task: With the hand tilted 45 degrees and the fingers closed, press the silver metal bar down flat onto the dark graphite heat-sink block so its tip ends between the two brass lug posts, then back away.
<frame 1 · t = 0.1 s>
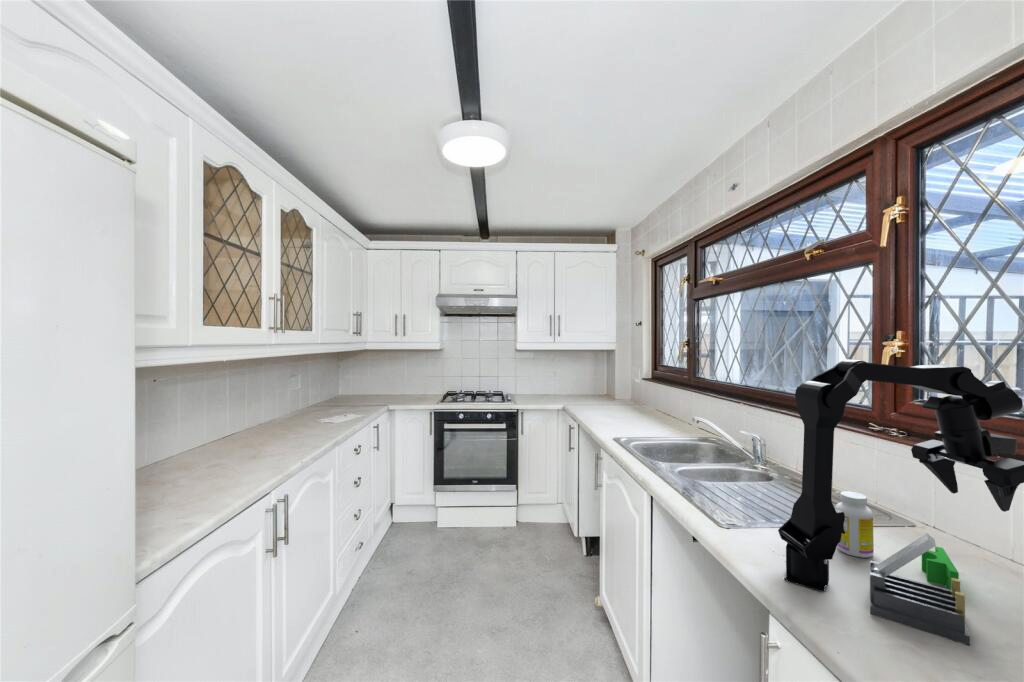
hand: (978, 501, 85), 15 cm above the worktop, tool pointing down, fingers open, 9 cm apart
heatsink: (915, 613, 74), on the worktop
silver metal bar: (901, 558, 75), point 9 cm above the worktop, hinge at 50.0°
supplement bottle: (854, 552, 96), on the worktop
pipe clamp: (937, 579, 85), on the worktop
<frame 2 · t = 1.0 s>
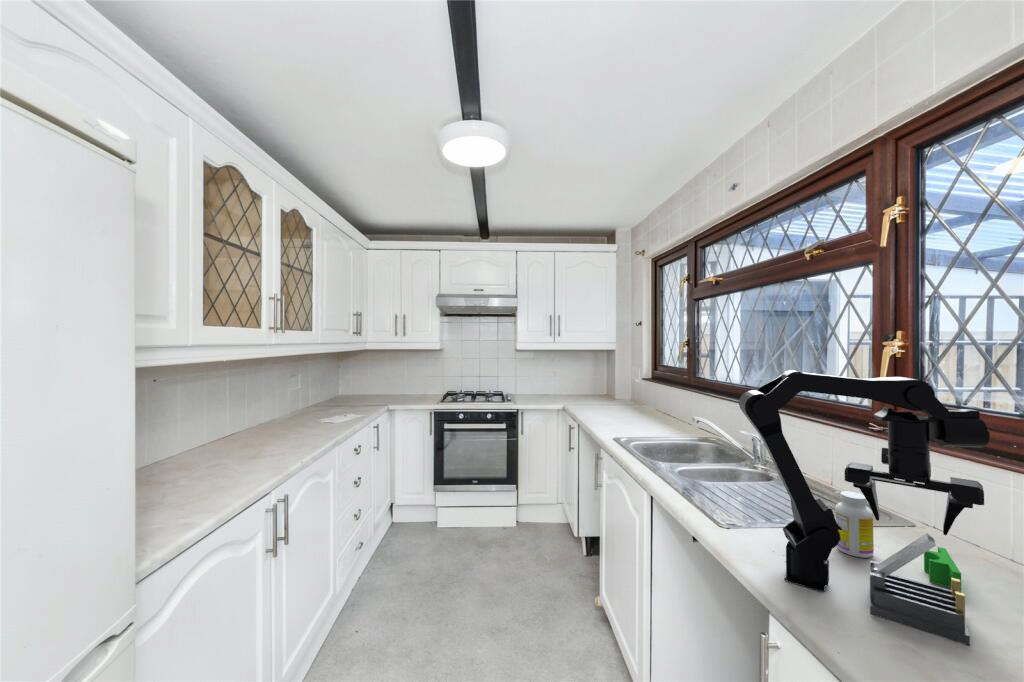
hand: (910, 526, 80), 13 cm above the worktop, tool pointing down, fingers open, 9 cm apart
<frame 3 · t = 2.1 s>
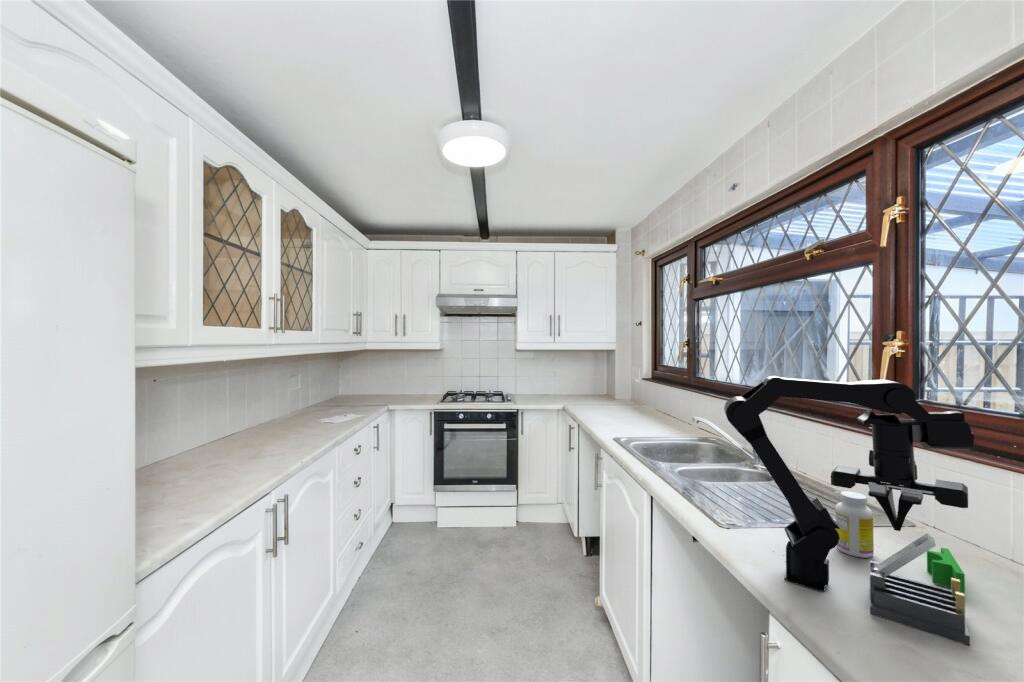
hand: (897, 530, 80), 12 cm above the worktop, tool pointing down, fingers closed
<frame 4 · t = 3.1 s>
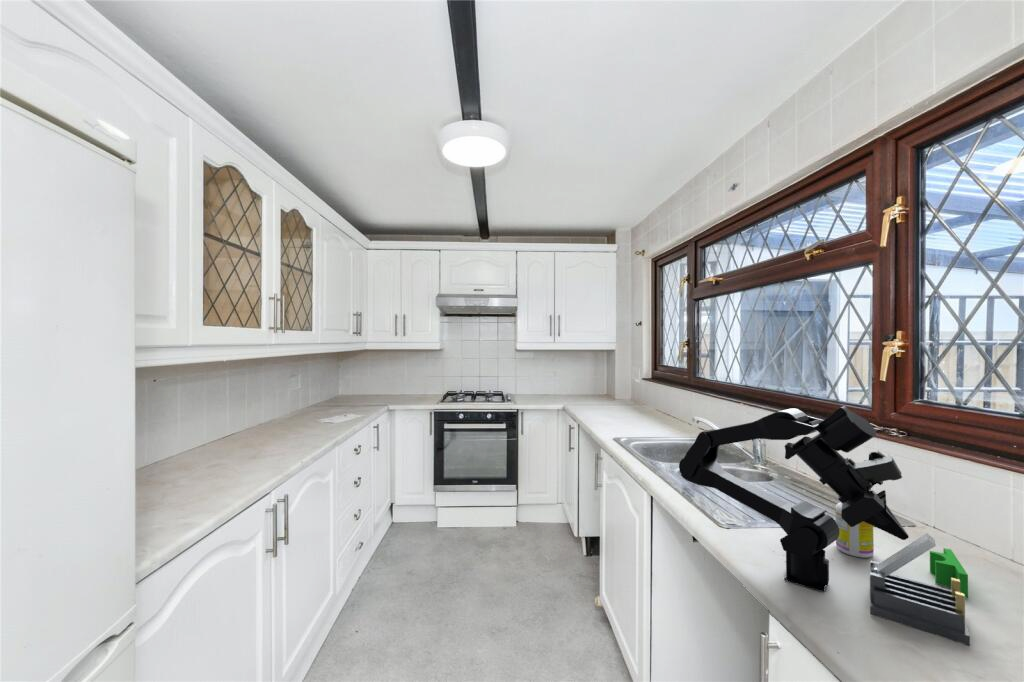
hand: (906, 538, 75), 13 cm above the worktop, tool tilted 45°, fingers closed
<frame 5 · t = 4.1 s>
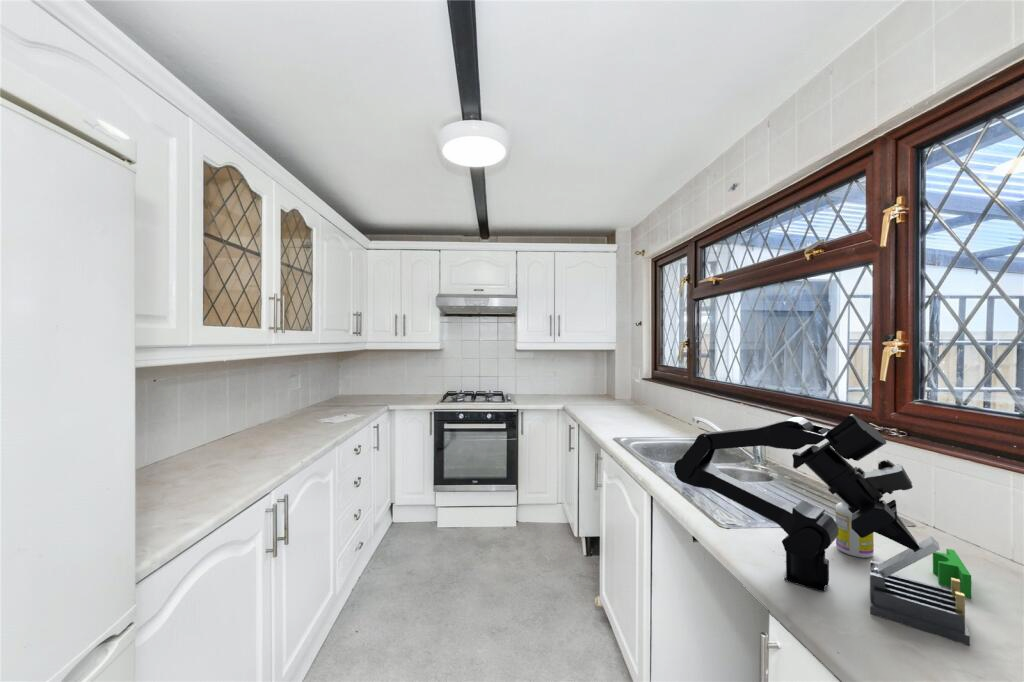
hand: (917, 548, 74), 12 cm above the worktop, tool tilted 45°, fingers closed, pressing on silver metal bar
silver metal bar: (903, 559, 75), point 9 cm above the worktop, hinge at 46.4°, touching gripper
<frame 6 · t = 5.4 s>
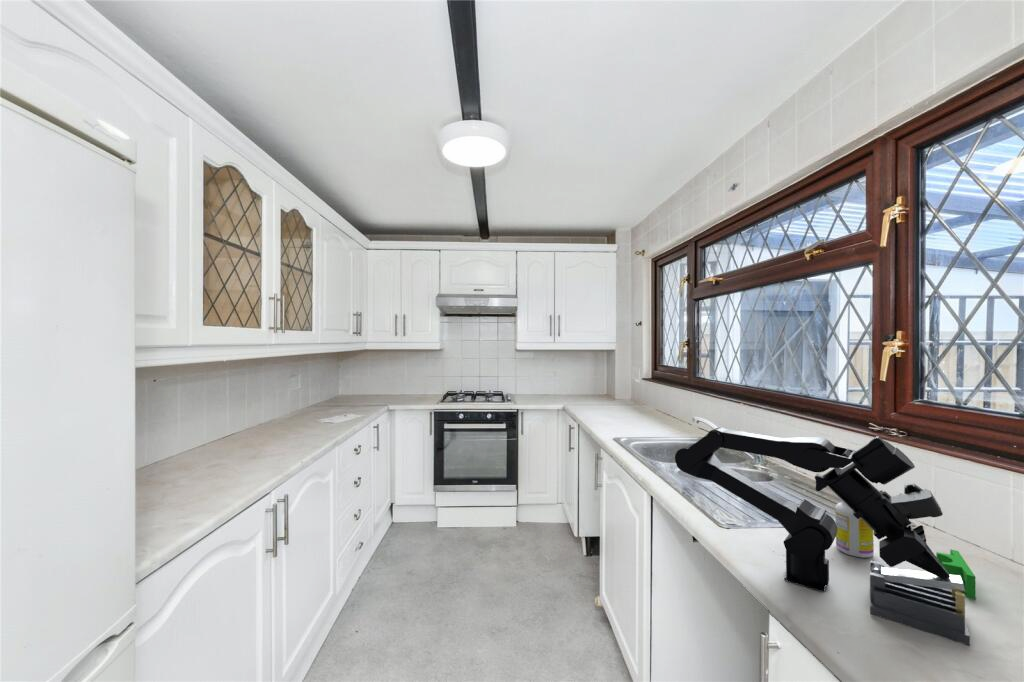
hand: (947, 577, 72), 8 cm above the worktop, tool tilted 45°, fingers closed, pressing on silver metal bar
silver metal bar: (914, 577, 74), point 6 cm above the worktop, hinge at 11.3°, touching gripper
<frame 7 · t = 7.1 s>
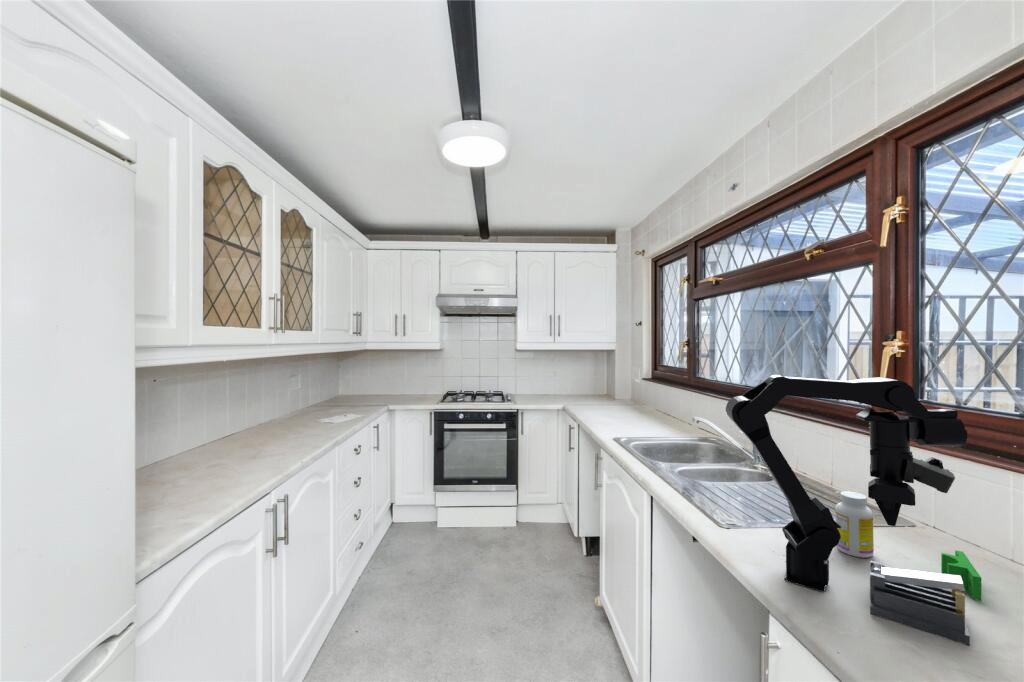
hand: (891, 525, 81), 13 cm above the worktop, tool pointing down, fingers closed
silver metal bar: (914, 577, 74), point 6 cm above the worktop, hinge at 11.2°
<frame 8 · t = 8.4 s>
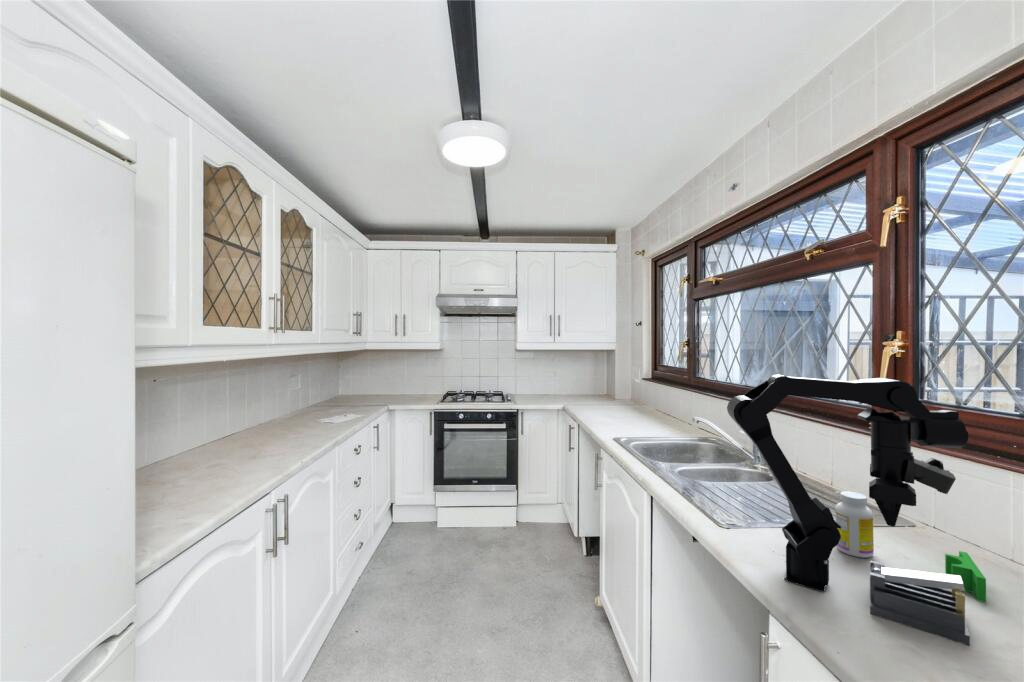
hand: (891, 525, 81), 12 cm above the worktop, tool pointing down, fingers closed
at the end: silver metal bar at +11° (first picture: +50°); silver metal bar touching nothing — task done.
